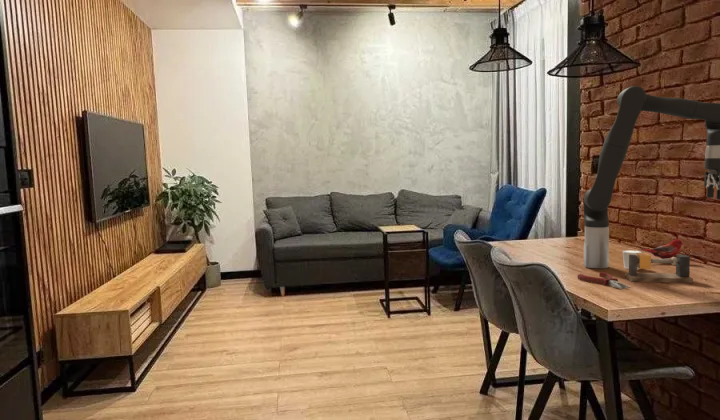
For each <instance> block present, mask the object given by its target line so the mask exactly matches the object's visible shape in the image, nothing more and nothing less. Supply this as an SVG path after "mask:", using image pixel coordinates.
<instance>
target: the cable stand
mask: <svg viewBox="0 0 720 420" xmlns="http://www.w3.org/2000/svg"><path fill="white" fill-rule="evenodd" d="M675 256H676V257H675ZM675 256H674V257H672V258H668V259H661V258H651V264H671V266H675V273H669V272H668V273H667V272H666V273H665V272H638V269H637V263H639V259H637V256H636V255H629V269H628V272H625V277H626V278H627V279H628V280H629V281H631V282H635V283H637V282H638V283H641V282H644V283H646V282H647V283H682V284H683V283H684V284H685V283H689V284H691V283H692V284H693V283H694V278H693V277H691V276H690V269H691V268H690V263H691V257H690V256H689V255H687V254H676V255H675Z"/></svg>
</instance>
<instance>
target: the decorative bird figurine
mask: <svg viewBox="0 0 720 420" xmlns="http://www.w3.org/2000/svg"><path fill="white" fill-rule="evenodd" d="M682 245H685V243H684V242H682V240H681V239H680V238H676V239H674V240H671V241H670V242H669V243H667V244H664V245H660V246H657V247H654V248H653V249H647V248H639V249H640V250H641V251H645V252H646V253H649V254H652V255H653V256H654V257H657V258H658V259H671V258H672V257H675V256H676V255H678V253H679V251H680V250H681V248H682Z"/></svg>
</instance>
